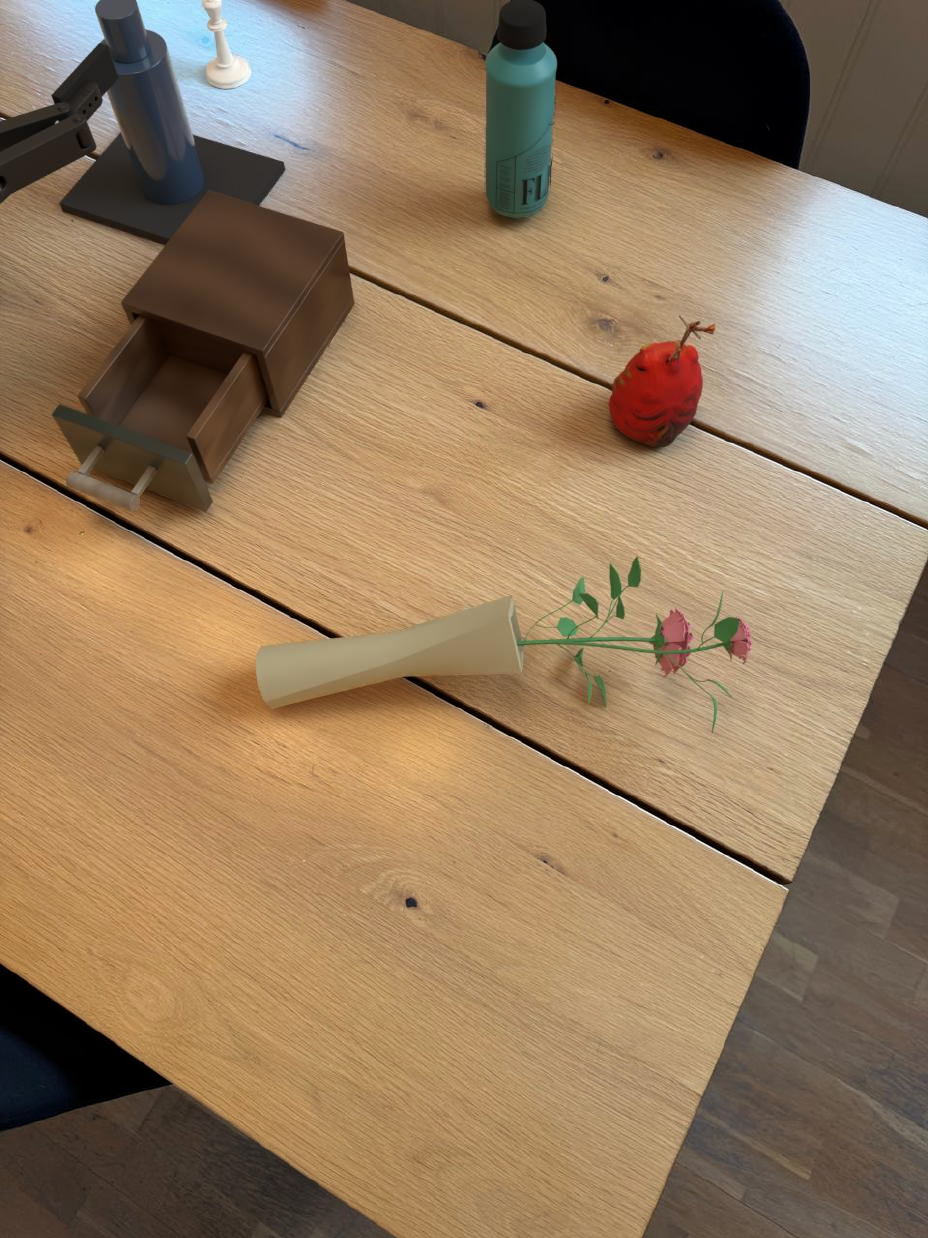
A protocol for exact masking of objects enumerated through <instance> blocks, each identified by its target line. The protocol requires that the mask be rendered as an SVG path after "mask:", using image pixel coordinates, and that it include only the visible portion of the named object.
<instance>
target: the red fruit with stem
mask: <svg viewBox="0 0 928 1238" xmlns="http://www.w3.org/2000/svg"><path fill="white" fill-rule="evenodd" d="M678 317H679V318H680V320H681V321H682V323H683V324H684V326H685V327H686V329H685V331H684V334H683V336H682V338H681V339H676V340H671V341H670V340H669V341H668V340H667V341H661V342H652V343H646V344H645V345H643V346H642V347H641V348H640V349H639V352H636V354H634V355H633V356H632V358H631V359H630V360H628V362H627V363H626V365H625V367H624V369H623V370H622V371H621V372H619V374H618V375H617V376H615V378H614V379H613V382H612V384H611V395H610V397H609V400H608V409H609V414H610V417H611V420H612V422H613V424H614V426H615V427H616V429H617V430H618V431H620V433H621V434H622V435H624V436H625V437H627V438H628V439H630V440H632V441H635V442H636V443H640V444H643V445H644V444H645V445H648V446H649V447H651V448H654V449H657V448H658V449H659V448H665V447H669V446H670V445H672V444H673V443H674V441H675V440H676V438H677V437H678V436H679V435H680V434H681V433H683V432H684V431H685V430H686V429H687V427H689V426H690V424H691V422H692V421H693V419H694V417H695V416H696V414H697V410H698V404H699V402H700V399H701V396H702V393H703V386H704V380H703V373H702V367H701V364H700V362H699V358H700V357H699V352H698V351H697V349H696V347H695V346H692V345H691V344H689V345H686V344H685V343H686V342H687V341H688V338H689V337H690V335H691V333H692V334H693V335H694V336H695V337H696V338H697V339H699V340H701V337H702V336H700V334H698V332H702V333H706V334H709V335H714V334H715V333H716V324H715V323H713V324H710V325H708V326H700V325H701V321H700V320H697V321H692V322H689V323H688V322H686V320H685V319H684V317H682V315H681V314H679V316H678Z"/></svg>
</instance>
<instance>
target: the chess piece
mask: <svg viewBox="0 0 928 1238" xmlns="http://www.w3.org/2000/svg"><path fill="white" fill-rule="evenodd" d="M201 5H202V7H203V9H204V11H205V12H206V14H207V16H208V18H209V20H208V21H207V23H206V28H207V29H208V31H210V32H212V33H213V34H214V42H215V49H216V50H215V51H216V57H215V58H212V59H211V60H210V61H209V62H208V64H207V65H206V68H205V75H206V76H205V78H206V81H207V82H208V84H210V85H211V86H213V87H215V88H217V89H222V90H231V89H235V88H238V87H240V86H242V85H244V84H246V83H247V82H248V81H249V80H250V78H251V75H252V69H251V66H250V63H249V62H248V60H247V59H246V58H244V57H243V56H240V55H238V54H232V50H231V48H230V45H229V42H228V40H227V37H226V34H225V31H224V30H226V29H227V28H228V21H227V19H225V18H224V17H222V9H223V8H222V7H223V0H202V2H201Z"/></svg>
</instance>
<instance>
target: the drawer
mask: <svg viewBox="0 0 928 1238" xmlns="http://www.w3.org/2000/svg"><path fill="white" fill-rule="evenodd" d="M77 398H78V400H79V402H80V404H81V406H82V408H83V409H84V411H85V412H83V411H80V410H77V409H75V408H72V407H69V406H67V405H64V404H61V403H59V404H58V405H57V406H56V408H55V409H54V410H53V412H52V413H51V416H52V418H53V419H54V421H55V422H56V424H57V426H58V428H59V429H60V431H61V433H62V435H63V436H64V438H65V439H66V442H67V443H68V445H69V446H70V448H71V450H72V452H73V453H74V455H75V456H76V458H77V460H78V461H79V463H80V465H81V466H80V468H78V470H77V471H76V470H74V471H71V472H69V473H68V475H67V476H66V481H65V484H66V486H67V488H69V489H71V490H74V491H76V492H79V493H81V494H85V495H87V496H89V497H92V498H94V499H97V500H99V501H103V502H105V503H107V504H110V505H112V506H114V507H117V508H120V509H123V510H125V511H128V512H130V513H135V512H137V510H138V509H139V508H140V505H141V496H142V494H143V493H144V491H146V490H148V491H150V492H153V493H155V494H158V495H160V496H163V497H165V498H169V499H171V500H174V501H176V502H179V503H180V504H184V505H187V506H190V507H192V508H194V509H197V510H200V511H202V512H205V513H207V512H208V510H209V509H210V507H211V506H212V504H213V502H214V500H213V498H212V495H211V493H210V490H209V488H208V486H207V484H206V483H208V484H211V485H214V483H215V482H216V481H217V479H218V477H219V476H220V475H221V473H222V472H223V470H224V468H225V467H226V466H227V464H228V462H229V461H230V459H231V458H232V456H233V455H234V454H235V452H236V450H237V448H238V447H239V446H240V444H241V443H242V441H243V440H244V438H245V436H246V435H248V432H249V431H250V429H251V427H252V426H253V424H254V423H255V421H256V420H257V419H258V417H259V416H260V414H261V412H263V411H262V409H263V408H264V406H265V405H266V403H267V402H268V400H269V396H268V393H267V389H266V386H265V382H264V379H263V375H262V372H261V369H260V365H259V362H258V358H257V355H256V354H253V353H250V352H247V351H244V350H241V349H238V348H235V347H232V346H229V345H227V344H224V343H221V342H218V341H215V340H212V339H209V338H206V337H203V336H200V335H197V334H195V333H192V332H189V331H186V330H183V329H180V328H177V327H174V326H171V325H168V324H165V323H163V322H160V321H157V320H154V319H151V318H148V317H145V316H142V315H139V316H138V317H137V318H136V320H135V321H134V322H133V324H132V325H130V326H129V328H127V330H126V332H125V333H124V334H123V335H122V336H121V338H120V339H119V340H118V342H117V343H116V344H115V346H114V347H113V348H112V349H111V351H110V353H109V354H108V355H107V356H106V357H105V359H103V361H102V362H101V364H100V365H99V367H98V368H97V369H96V371H95V372H94V373H93V375H92V376H91V377H90V378H89V380H88V381H87V382H86V384H85V385H84V386H83V388H82V389H81V390H80V392H78V394H77ZM93 470H95V471H98V472H100V473H103V474H105V475H107V476H111V477H113V478H116V479H119V480H121V481H123V482H127V483H129V484H132V485H134V487H133V488H132V489H131V492H130V491H128V490H125V489H123V488H120V487H118V486H115V485H112V484H109V483H106V482H105V481H102V480H99V479H97V478H94V477H91V476H89V475H90V474H91V472H92V471H93Z"/></svg>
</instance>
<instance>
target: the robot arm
mask: <svg viewBox="0 0 928 1238" xmlns="http://www.w3.org/2000/svg"><path fill="white" fill-rule="evenodd" d="M118 78H119V77H118V74H117V71H116V68H115V65H114V62H113V60H112V57H111V54H110V51H109V48H108V45H105V44H102V43H100V42H99V43H98V44H97V45H95V47H94V48H93V49H92V50H91V51H90V52H89V53H88V54H87V55H86V56H85V57H84V59H83V60H82V61H81V62H80V63H79V64H78V65H77V66H76V67H75V69H74V70H73V71H72V72H71V73H70V74H69V75H68V76H67V77H66V78H65V79H64V81H62V83H61V84H60V85H59V86H58V87H57V88H56V89H55V90H54V91H53V92H52V94H51V96H50V97H51V98H52V101H53V104H50V105H47V106H43V107H42V108H41V107H40V108H38V109H35V110H31V111H28V112H25V113H21V114H19V115H16V116H12V117H9V118H6V119H2V120H0V205H1V204H2V203H3V202H5V201H6V200H7V198H9V197H10V196H11V195H12V194H14V193H17V192H19V191H20V190H23V189H24V188H26V187H28V186H30V185H32V184H34V183H35V182H38V181H39V180H41V179H43V178H45V177H47V176H50V175H51V174H53V173H55V172H57V171H58V170H61V169H63V168H64V167H66V166H68V165H70V164H72V163H74V162H77V161H78V160H80V159H82V158H84V157H86V156H87V155H89V154H91V153H93V152H95V151H96V150H97V147H98V146H97V144H96V141H95V138H94V136H93V133H92V130H91V129H90V125H89V123H88V121H89V120H90V119H91V117H92V116H93V115H94V114H95V113H96V112H97V111H98V109H100V107H101V106H102V105H103V101H104V99H103V97H104V96H105V94H107V91H108V90H109V89H110V87H111V86H112V85H113V84H114V83H115V82H116V81H117V79H118Z"/></svg>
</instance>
